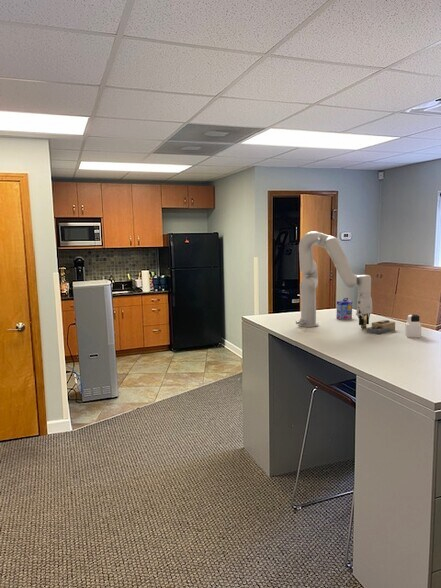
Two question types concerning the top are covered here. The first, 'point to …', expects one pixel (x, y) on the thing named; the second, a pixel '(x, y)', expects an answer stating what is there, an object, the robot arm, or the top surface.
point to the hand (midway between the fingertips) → (363, 324)
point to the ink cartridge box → (344, 309)
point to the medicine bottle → (413, 326)
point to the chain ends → (381, 327)
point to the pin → (364, 321)
